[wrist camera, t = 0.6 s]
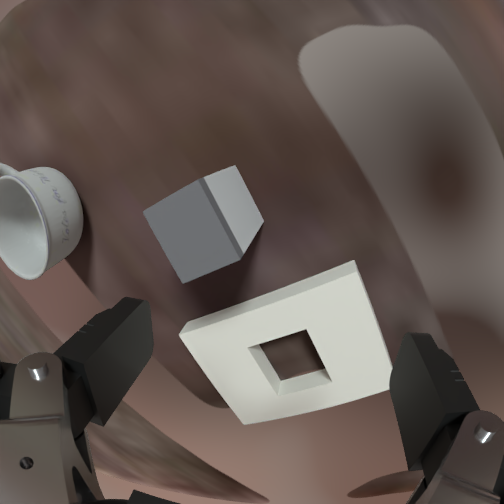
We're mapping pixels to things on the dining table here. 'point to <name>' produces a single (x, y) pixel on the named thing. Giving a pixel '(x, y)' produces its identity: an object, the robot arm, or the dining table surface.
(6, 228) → the teacup
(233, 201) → the plug
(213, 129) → the dining table surface
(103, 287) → the dining table surface
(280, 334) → the socket plate
